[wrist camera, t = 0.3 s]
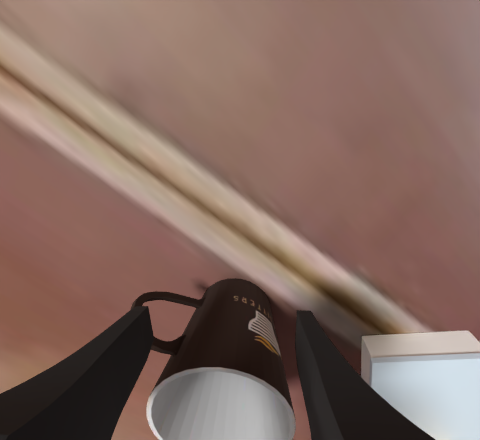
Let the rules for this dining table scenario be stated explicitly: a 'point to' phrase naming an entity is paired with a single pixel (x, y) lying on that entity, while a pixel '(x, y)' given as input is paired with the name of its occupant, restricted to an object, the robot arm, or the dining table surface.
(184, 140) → the dining table surface
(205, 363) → the coffee mug
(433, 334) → the tub
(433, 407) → the lid
